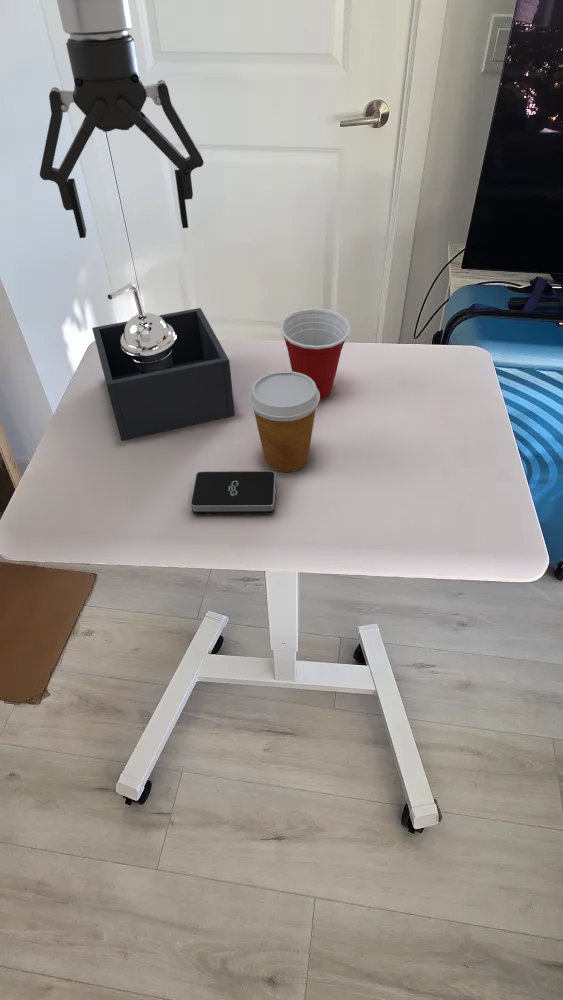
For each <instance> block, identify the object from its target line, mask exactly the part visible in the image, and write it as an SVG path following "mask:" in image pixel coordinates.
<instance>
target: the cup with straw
mask: <svg viewBox="0 0 563 1000" xmlns="http://www.w3.org/2000/svg"><path fill="white" fill-rule="evenodd" d="M130 290H131V291H132V295H133V298H134V302H135V305H136V309H137V314H134V315H133V316H132V317H130V319H128V320H127V321H128V322H127V324H126V326H125V330H124V333H123V335H122V336H121V340H120V342H121V348H122V350H123V351H124V352H126V353H127V354H129V355H130V357H131V358H132V360H133V362H134V363H135V365H136V367H137V369H138V372H139V374H140V375H141V374H146V373H151V372H156V371H160V370H165V369H170V368H174V365H173V357H172V353H173V349H172V348H173V343H174V342H175V339H176V333H175V331H174V329H173V328H172V327H171V326H170V325H169V324H167V323H166V322H165V321H164V320H163V319H162V318H161V317H159V315H158V314H157V313H156V314H155V313H152V312H144V310H143V306H142V303H141V299H140V295H139V292H138V288H137V286H136V285H135V284H134V283H127V284H125V285H124V286H122V287H120V288H118V289H116V290H114V291H113V292H110V293H108V294H107V299H108V300H113V299H115V298H117V297H118V296H120V295H122V294H124V293H126V292H127V291H130Z"/></svg>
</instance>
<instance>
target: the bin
mask: <svg viewBox="0 0 563 1000" xmlns="http://www.w3.org/2000/svg"><path fill="white" fill-rule="evenodd" d="M158 316H159V317H161V318H162V319H163V320H164V321H165V322H166V323H167V324H169V325H170V326H171V327H172V328H173V329H174V331H175V333H176V339H175V342H174V343H173V348H172V349H173V353H172V357H173V365H174V368H170V369H165V370H160V371H156V372H151V373H146V374H141V375H140V374H139V372H138V369H137V367H136V365H135V363H134V362H133V360H132V358H131V357H130V355H129V354H127V353H126V352H124V351H123V350H122V348H121V342H120V340H121V336H122V335H123V333H124V330H125V326H126V324H127V322H128V321H129V320H127V321H121V322H115V323H111V324H104V325H99V326H93V327H92V328H91V329H92V333H93V337H94V342H95V345H96V349H97V353H98V357H99V361H100V366H101V369H102V372H103V376H104V381H105V384H106V388H107V392H108V396H109V399H110V403H111V408H112V411H113V414H114V419H115V422H116V423H115V424H116V426H117V430H118V433H119V438H120V441H121V442H122V441H127V440H131V439H134V438H140V437H145V436H149V435H154V434H158V433H162V432H166V431H171V430H175V429H181V428H185V427H189V426H193V425H197V424H202V423H207V422H211V421H215V420H220V419H223V418H229V417H233V416H235V415H236V412H235V404H234V403H235V402H234V392H233V384H232V374H231V364H230V359H229V357H228V355H227V353H226V351H225V350H224V348H223V346H222V344H221V342H220V341H219V338H218V337H217V335H216V334H215V333H216V332H214V329H213V328H212V325H211V324H210V322H209V321H208V319H207V317H206V315H205V313H204V311H203V310H202V308H201V307H197V308H192V309H187V310H182V311H176V312H170V313H165V314H159V315H158Z"/></svg>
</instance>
